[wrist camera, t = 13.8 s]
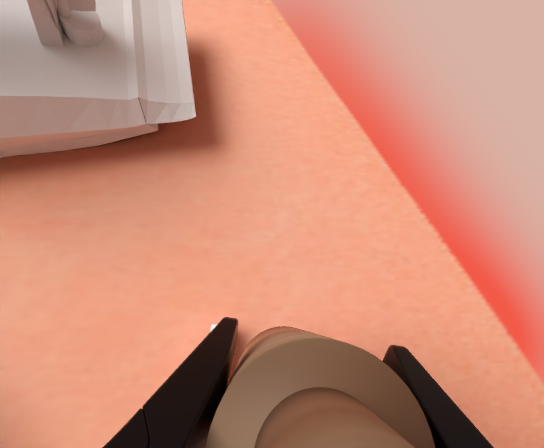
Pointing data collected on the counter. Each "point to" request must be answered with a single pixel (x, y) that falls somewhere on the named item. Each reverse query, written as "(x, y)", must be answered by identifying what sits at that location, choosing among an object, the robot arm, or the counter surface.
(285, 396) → the walnut skittle
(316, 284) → the counter surface
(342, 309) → the counter surface
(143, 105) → the iron
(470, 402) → the counter surface
